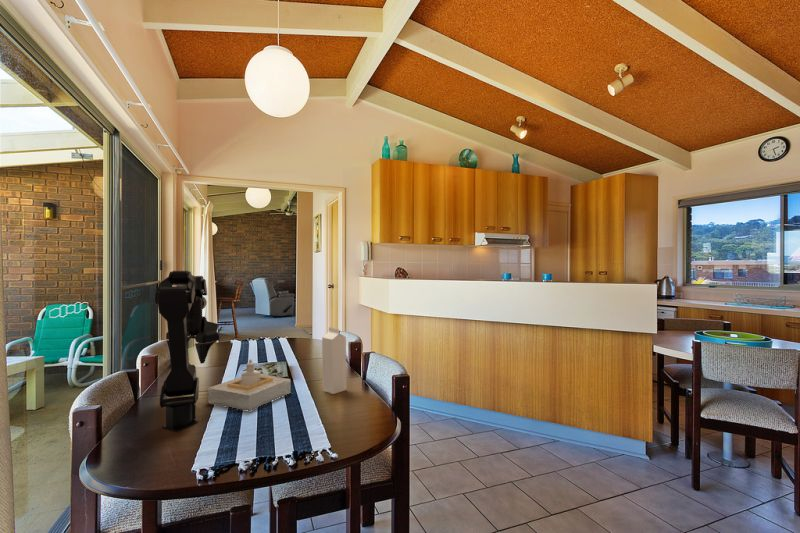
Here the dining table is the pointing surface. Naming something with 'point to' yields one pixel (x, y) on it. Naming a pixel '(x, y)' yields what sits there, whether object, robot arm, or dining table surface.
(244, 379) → the eye dropper bottle
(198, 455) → the dining table surface
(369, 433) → the dining table surface
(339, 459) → the dining table surface
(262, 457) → the dining table surface
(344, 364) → the milk
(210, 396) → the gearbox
